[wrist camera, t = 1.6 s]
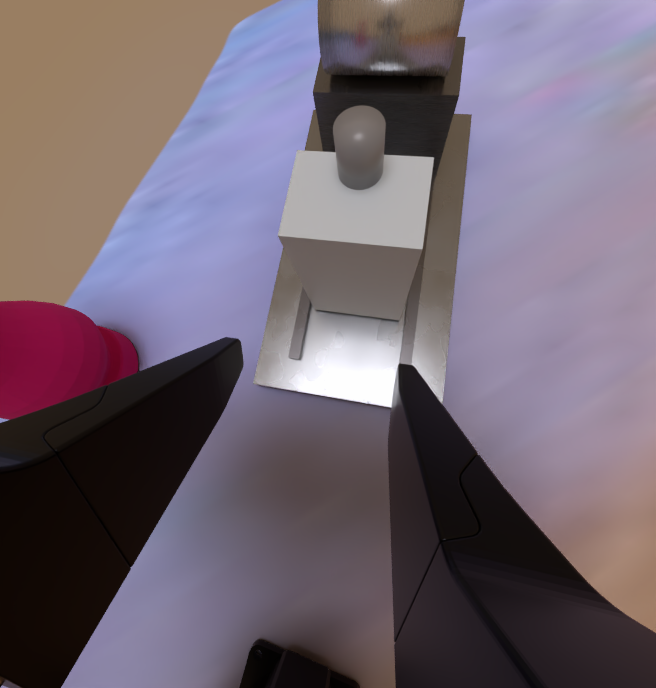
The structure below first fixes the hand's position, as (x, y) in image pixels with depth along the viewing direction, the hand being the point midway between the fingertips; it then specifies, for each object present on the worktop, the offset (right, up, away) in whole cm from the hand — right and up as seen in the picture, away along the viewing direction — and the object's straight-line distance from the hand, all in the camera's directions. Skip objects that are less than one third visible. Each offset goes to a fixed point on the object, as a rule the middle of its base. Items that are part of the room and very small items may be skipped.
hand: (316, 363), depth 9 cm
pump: (+3, +4, +12) cm, 13 cm away
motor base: (+3, +8, +14) cm, 17 cm away
